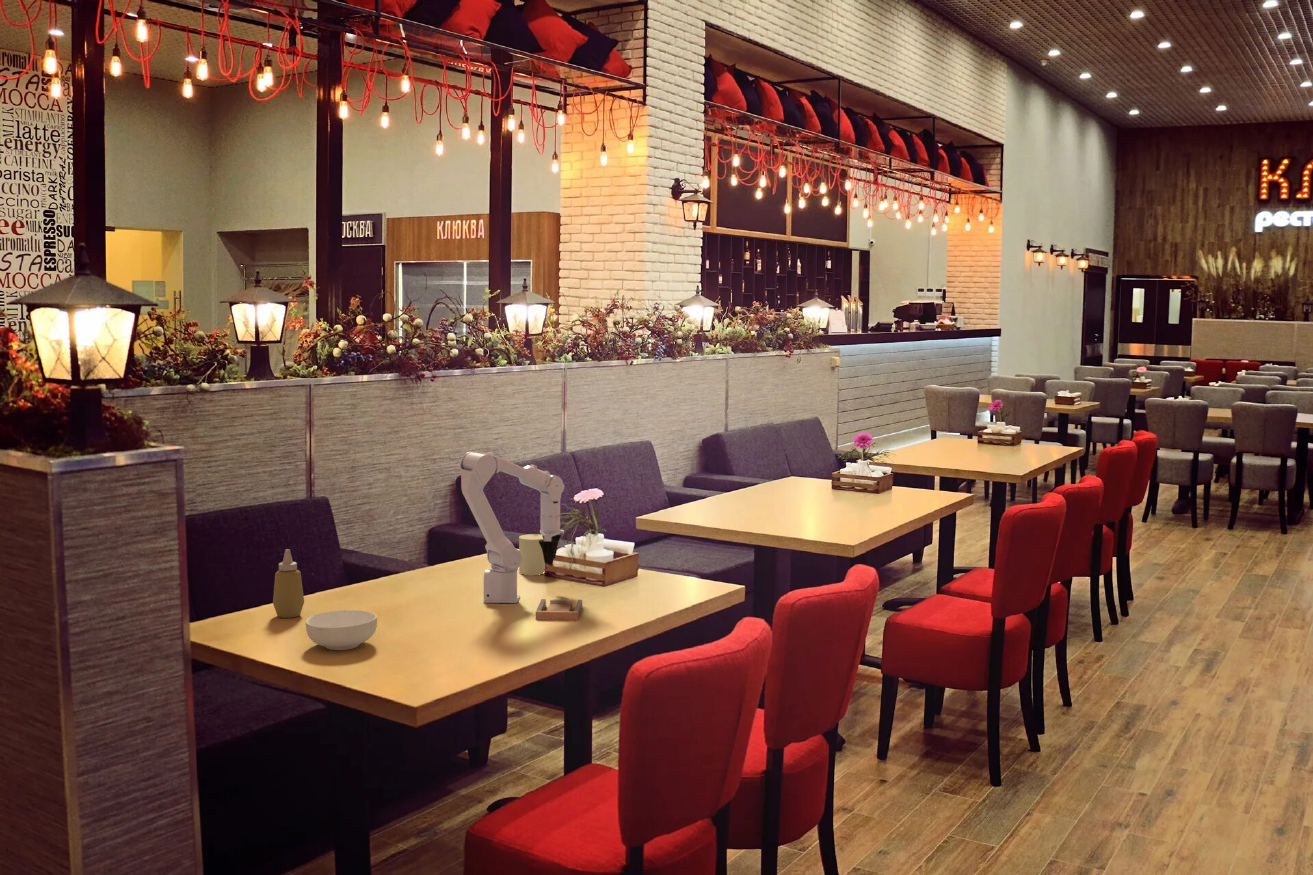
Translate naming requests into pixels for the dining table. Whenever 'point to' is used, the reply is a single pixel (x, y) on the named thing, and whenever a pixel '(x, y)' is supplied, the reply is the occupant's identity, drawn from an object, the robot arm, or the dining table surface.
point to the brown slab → (560, 605)
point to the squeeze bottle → (288, 589)
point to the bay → (558, 612)
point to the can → (531, 554)
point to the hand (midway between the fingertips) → (550, 561)
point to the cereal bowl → (341, 628)
